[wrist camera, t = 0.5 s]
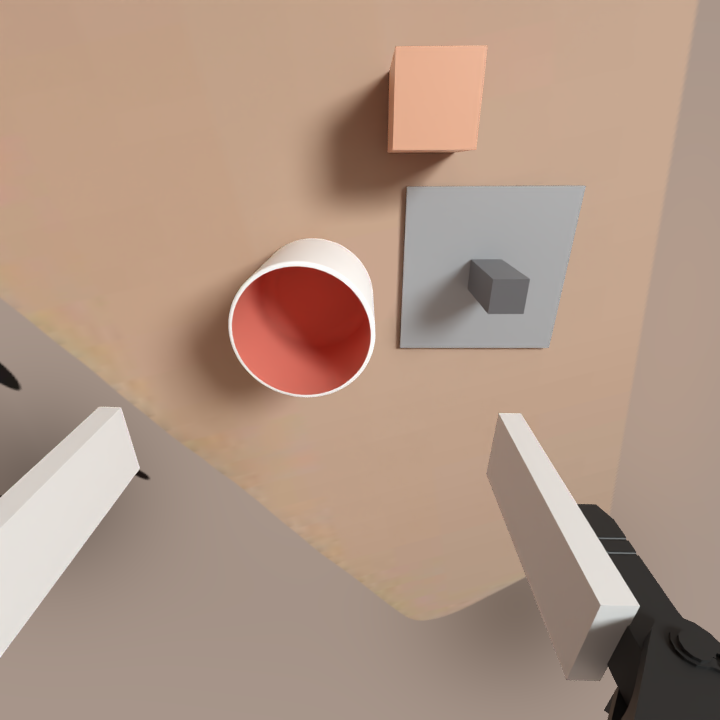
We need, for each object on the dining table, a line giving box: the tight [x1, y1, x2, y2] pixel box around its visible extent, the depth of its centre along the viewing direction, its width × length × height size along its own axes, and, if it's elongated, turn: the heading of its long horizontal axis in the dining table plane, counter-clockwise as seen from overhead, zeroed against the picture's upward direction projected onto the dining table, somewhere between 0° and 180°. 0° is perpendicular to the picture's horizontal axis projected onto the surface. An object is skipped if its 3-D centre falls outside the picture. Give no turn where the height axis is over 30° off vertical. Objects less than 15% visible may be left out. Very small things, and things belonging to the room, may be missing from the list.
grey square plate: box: [400, 186, 586, 348], centre depth 32 cm, size 14×14×7 cm
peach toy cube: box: [388, 45, 488, 153], centre depth 26 cm, size 5×5×7 cm
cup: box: [228, 238, 375, 397], centre depth 31 cm, size 10×10×10 cm
